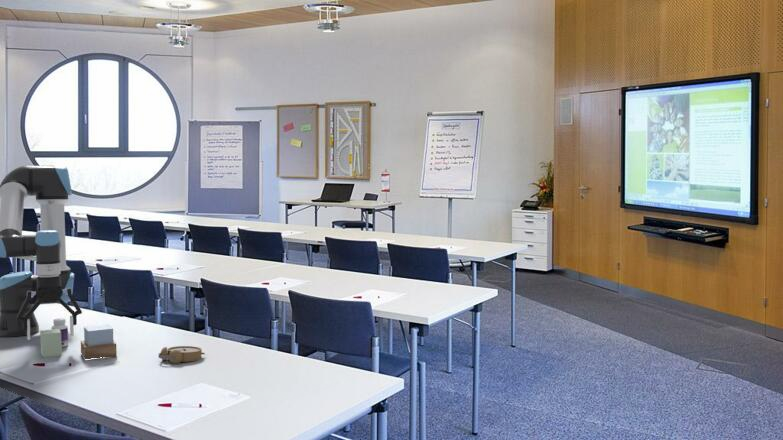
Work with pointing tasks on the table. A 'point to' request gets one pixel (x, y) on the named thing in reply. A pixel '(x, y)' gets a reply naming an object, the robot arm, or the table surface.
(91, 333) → the tower top
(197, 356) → the alarm clock
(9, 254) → the robot arm
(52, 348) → the green block
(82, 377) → the table surface
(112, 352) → the tower base
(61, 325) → the pill bottle
